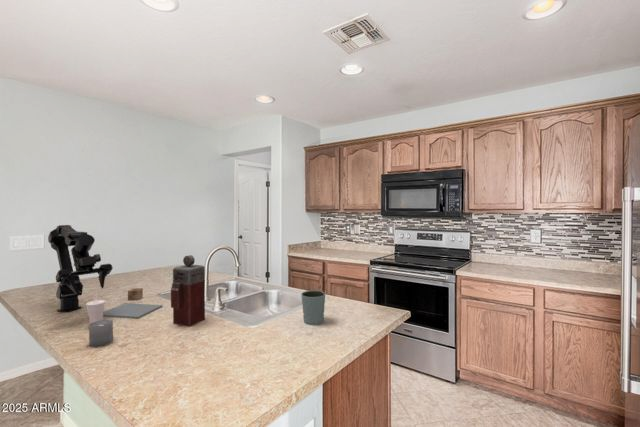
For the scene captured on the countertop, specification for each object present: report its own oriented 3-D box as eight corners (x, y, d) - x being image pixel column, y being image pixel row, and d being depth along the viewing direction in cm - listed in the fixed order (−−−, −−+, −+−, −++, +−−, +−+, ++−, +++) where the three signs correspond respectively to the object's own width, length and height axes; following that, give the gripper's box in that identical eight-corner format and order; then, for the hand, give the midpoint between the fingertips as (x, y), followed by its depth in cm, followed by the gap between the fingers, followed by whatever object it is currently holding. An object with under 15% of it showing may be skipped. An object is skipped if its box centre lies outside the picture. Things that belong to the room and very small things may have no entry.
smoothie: (95, 329, 124) (94, 294, 123) (82, 328, 125) (81, 293, 125) (109, 323, 130) (109, 290, 130) (96, 322, 131) (95, 289, 131)
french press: (168, 325, 129) (167, 257, 128) (189, 316, 139) (188, 253, 138) (185, 328, 125) (184, 258, 124) (205, 319, 136) (204, 254, 135)
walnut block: (127, 300, 161) (127, 291, 161) (132, 297, 166) (132, 288, 166) (138, 300, 162) (138, 290, 162) (142, 297, 167) (142, 288, 166)
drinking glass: (330, 321, 134) (330, 293, 134) (313, 328, 127) (313, 298, 126) (313, 315, 141) (313, 288, 141) (296, 321, 134) (296, 293, 133)
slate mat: (97, 315, 139) (97, 314, 139) (125, 304, 155) (125, 302, 155) (138, 318, 136) (138, 316, 136) (162, 306, 152) (162, 305, 152)
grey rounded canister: (84, 346, 110) (83, 326, 109) (101, 337, 116) (100, 319, 116) (101, 347, 108) (101, 327, 108) (117, 339, 115) (117, 320, 115)
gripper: (58, 250, 124) (66, 286, 118) (111, 245, 139) (121, 277, 133) (52, 264, 129) (59, 299, 124) (104, 258, 144) (113, 289, 139)
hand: (89, 290), depth 130 cm, fingers open, 9 cm apart
